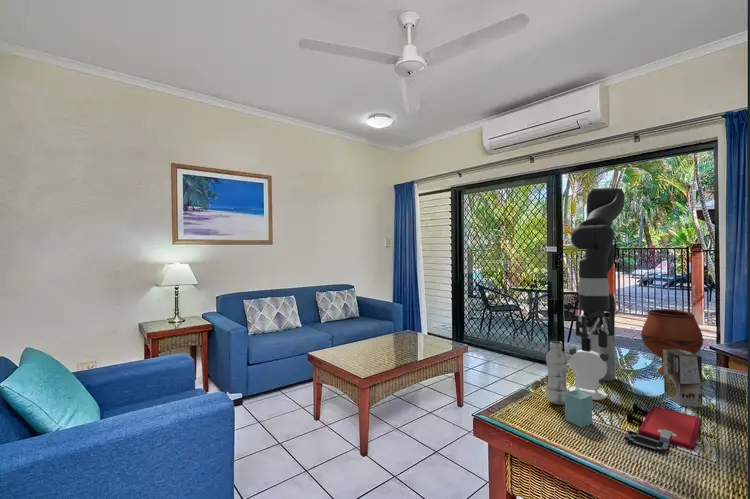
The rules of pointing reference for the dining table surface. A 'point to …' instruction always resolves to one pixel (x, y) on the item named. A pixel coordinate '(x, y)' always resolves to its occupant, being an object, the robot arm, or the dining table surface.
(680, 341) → the terracotta clay pot
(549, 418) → the dining table surface
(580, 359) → the white round-based fixture
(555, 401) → the plastic bottle
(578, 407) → the teal block
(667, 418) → the red board with handle
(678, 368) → the coffee box
